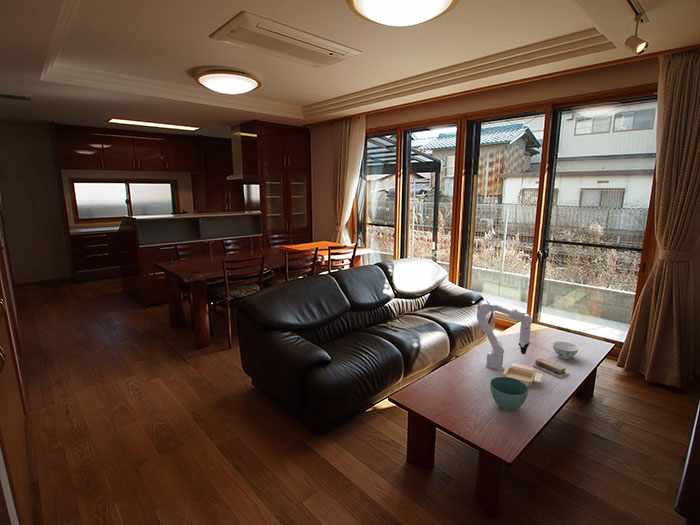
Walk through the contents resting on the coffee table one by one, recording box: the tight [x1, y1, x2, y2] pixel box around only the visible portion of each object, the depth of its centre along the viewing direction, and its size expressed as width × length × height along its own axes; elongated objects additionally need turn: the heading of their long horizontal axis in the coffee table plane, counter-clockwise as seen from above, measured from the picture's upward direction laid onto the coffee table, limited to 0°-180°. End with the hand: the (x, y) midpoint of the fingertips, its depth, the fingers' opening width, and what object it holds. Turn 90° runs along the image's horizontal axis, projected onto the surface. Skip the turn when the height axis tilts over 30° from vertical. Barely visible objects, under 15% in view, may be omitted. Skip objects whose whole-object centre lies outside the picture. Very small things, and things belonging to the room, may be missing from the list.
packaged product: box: [533, 358, 570, 379], centre depth 227 cm, size 18×5×10 cm
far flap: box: [533, 372, 543, 384], centre depth 211 cm, size 1×10×4 cm
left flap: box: [510, 362, 535, 373], centre depth 223 cm, size 12×1×4 cm
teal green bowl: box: [489, 376, 530, 413], centre depth 189 cm, size 18×18×12 cm
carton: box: [502, 366, 536, 388], centre depth 217 cm, size 16×13×3 cm
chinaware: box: [552, 341, 579, 360], centre depth 244 cm, size 15×15×8 cm
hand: (523, 353), depth 227 cm, fingers closed
